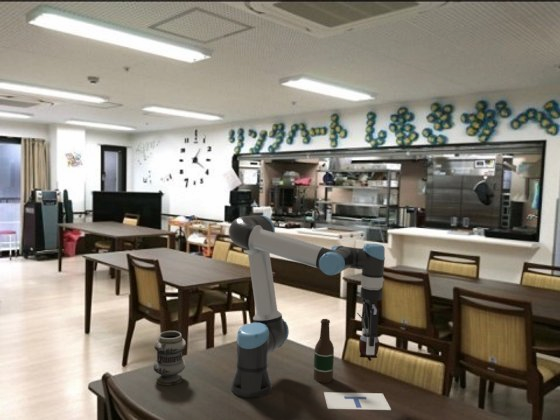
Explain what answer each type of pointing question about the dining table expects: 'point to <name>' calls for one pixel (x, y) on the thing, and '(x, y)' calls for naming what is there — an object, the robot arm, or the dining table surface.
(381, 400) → the letter card
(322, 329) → the beer bottle
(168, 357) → the apothecary jar
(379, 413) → the dining table surface
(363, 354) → the mate gourd
